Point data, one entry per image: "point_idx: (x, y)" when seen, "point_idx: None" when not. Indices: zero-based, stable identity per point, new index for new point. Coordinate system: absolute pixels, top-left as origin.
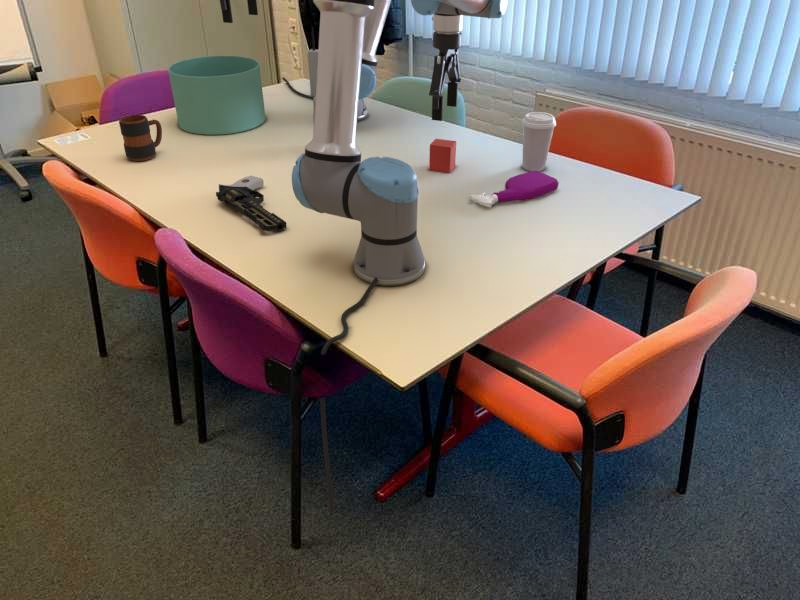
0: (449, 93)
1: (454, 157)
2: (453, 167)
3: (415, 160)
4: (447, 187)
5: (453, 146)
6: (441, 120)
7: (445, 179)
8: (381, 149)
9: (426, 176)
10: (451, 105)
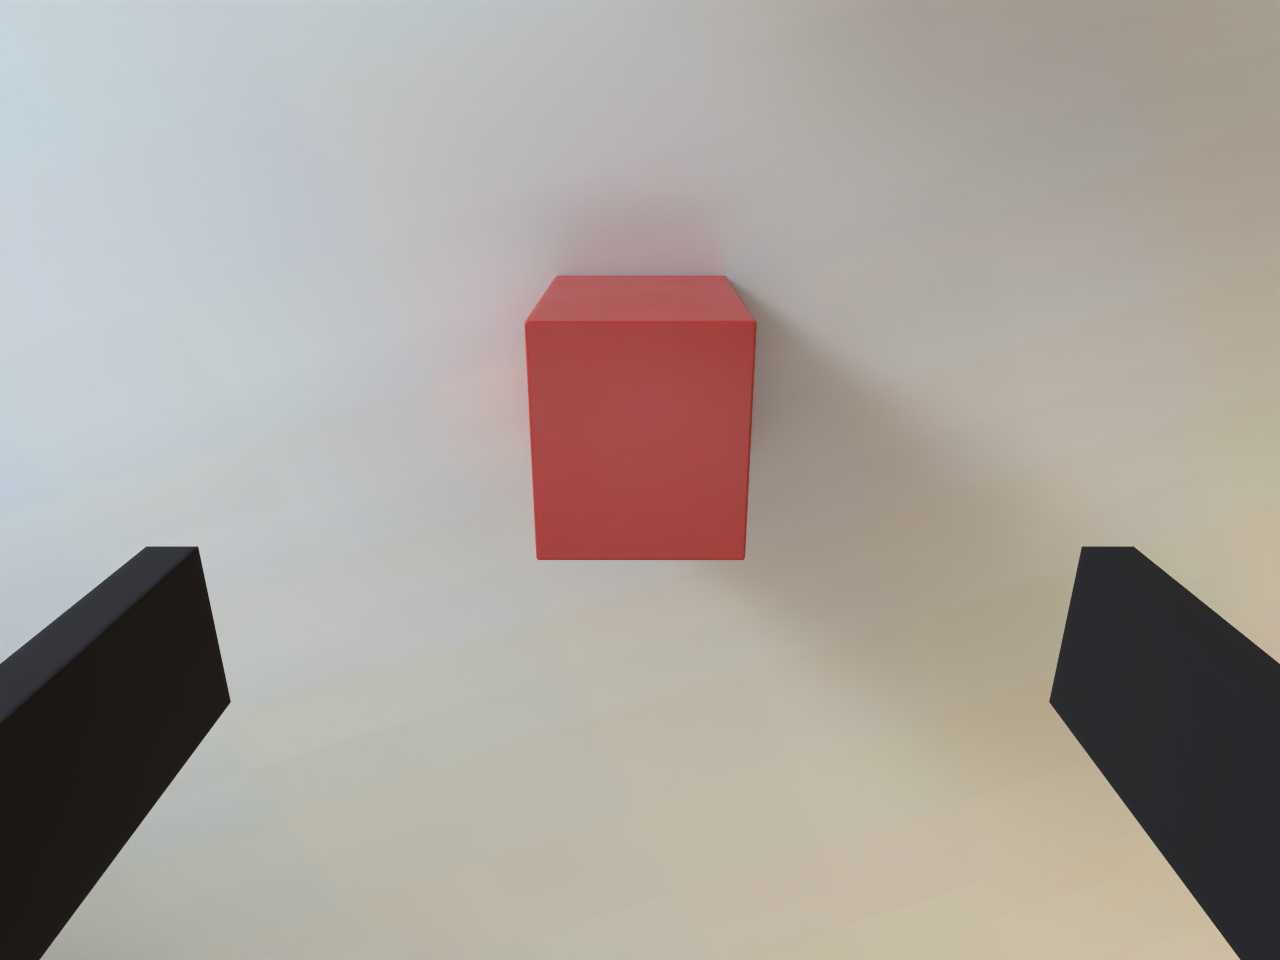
0: (83, 844)
1: (587, 291)
2: (611, 276)
3: (552, 619)
4: (1053, 195)
5: (643, 315)
6: (1129, 550)
7: (877, 268)
8: (444, 886)
9: (855, 438)
10: (208, 634)
